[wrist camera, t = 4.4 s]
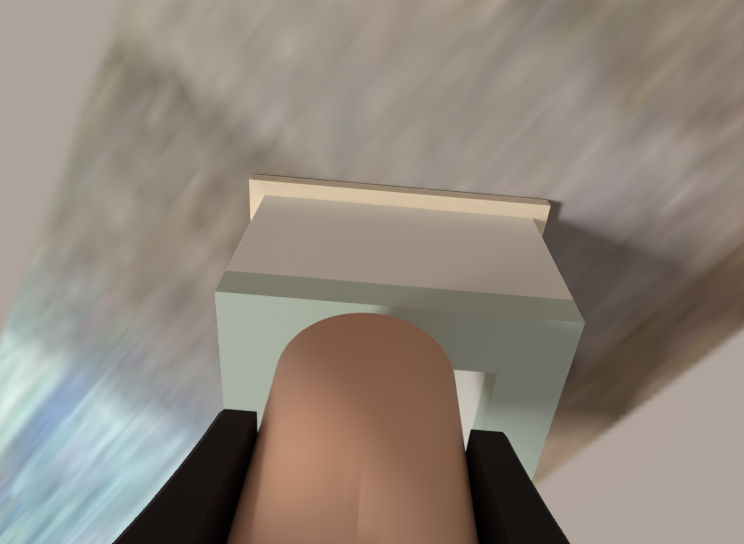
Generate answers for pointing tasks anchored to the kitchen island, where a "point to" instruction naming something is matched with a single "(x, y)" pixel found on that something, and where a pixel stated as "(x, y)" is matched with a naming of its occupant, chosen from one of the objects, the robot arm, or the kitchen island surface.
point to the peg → (359, 442)
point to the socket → (405, 292)
